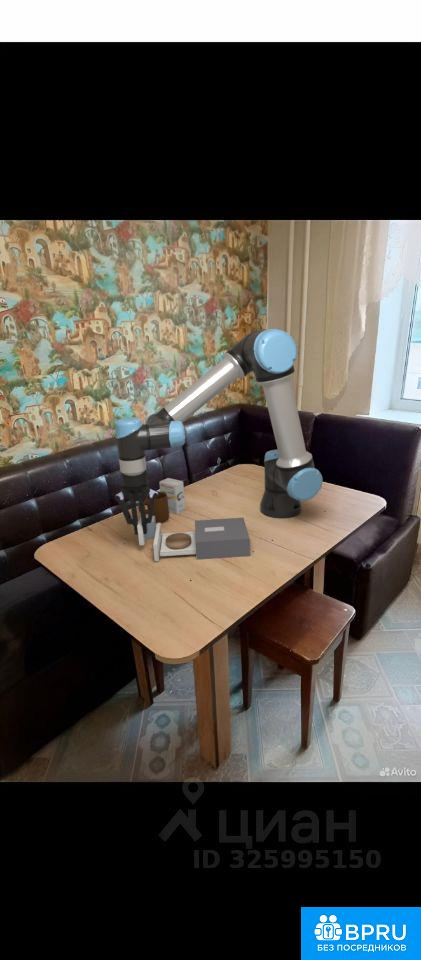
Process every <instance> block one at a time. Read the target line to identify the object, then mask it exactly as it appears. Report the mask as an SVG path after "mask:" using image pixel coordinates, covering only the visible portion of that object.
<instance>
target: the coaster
mask: <svg viewBox="0 0 421 960" xmlns="http://www.w3.org/2000/svg"><path fill="white" fill-rule="evenodd" d="M174 533H175V534H172V535H169V536H168V537H167V538H166V546H167V547H168V548H169V549H173V550H179V549H185V548H187V547H189V546H190V545H191V536H190V535H188V534H185V533H183V532H174Z"/></svg>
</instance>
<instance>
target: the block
mask: <svg viewBox="0 0 421 960" xmlns="http://www.w3.org/2000/svg"><path fill="white" fill-rule="evenodd" d="M146 518H148V515H146ZM140 522H141V516H139V518H138V523H140ZM156 526H157V523H156V521H155V516H152V521H151V523H148V524H147V534H144V535H145V540H149V539H151V540H152V539H153V540H154V538H155V532H156Z"/></svg>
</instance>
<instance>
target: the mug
mask: <svg viewBox="0 0 421 960" xmlns="http://www.w3.org/2000/svg"><path fill="white" fill-rule="evenodd" d="M150 501H151V498H150V493H149V494H148V495H147V497H146V500H144V503H145V506H146V508H147V509H146V508H145V511H146V515H148V514H149V508H150ZM137 506H138V507H137V511H138V512H139V513H140V505H139V504H138V505H137ZM153 516H155V521H156V524H157V523H161V524H163V523H166V522H167V521H168V520H169V519H170V512H169V508H168V499H167V494H165V493H162V492H160V491H158V496H157V498H156V499H155V503H154V509H153Z"/></svg>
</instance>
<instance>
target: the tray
mask: <svg viewBox="0 0 421 960" xmlns="http://www.w3.org/2000/svg"><path fill="white" fill-rule="evenodd" d="M175 533H176V532H169V533H168V532H167V533H163V532H162V523H156V532H155V538H154V539H153V544H152V551H153V554H154V555H153V556H154V562H160V557H173V556H186V555H188V556H189V555H196V541H195V531H187V532H182V533H185V534H188V535H190V536H191V545H190V546H189V547H187V548H185V549H179V550H173V549H169V548H168V547H167V546H166V538H167V537H168V536H169V535H172V534H175Z"/></svg>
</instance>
